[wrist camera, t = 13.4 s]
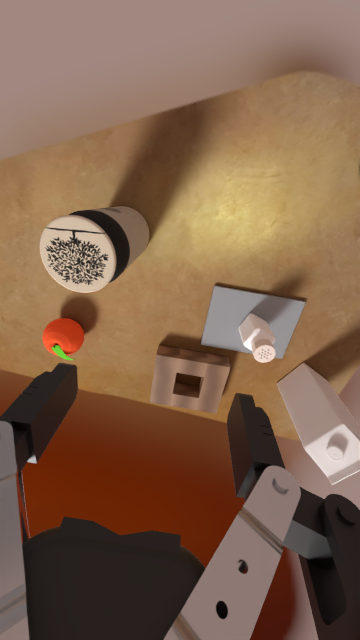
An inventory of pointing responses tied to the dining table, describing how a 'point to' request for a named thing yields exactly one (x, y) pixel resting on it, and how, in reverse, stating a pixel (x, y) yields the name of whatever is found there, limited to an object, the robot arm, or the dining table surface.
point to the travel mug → (93, 246)
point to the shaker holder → (189, 363)
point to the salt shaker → (258, 338)
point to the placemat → (236, 306)
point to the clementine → (63, 337)
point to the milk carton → (322, 422)
